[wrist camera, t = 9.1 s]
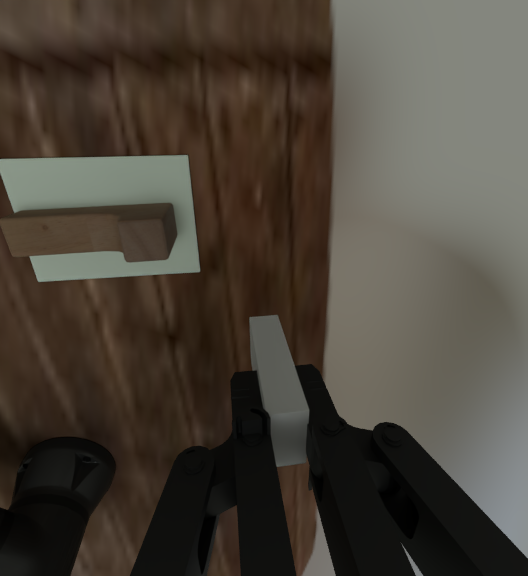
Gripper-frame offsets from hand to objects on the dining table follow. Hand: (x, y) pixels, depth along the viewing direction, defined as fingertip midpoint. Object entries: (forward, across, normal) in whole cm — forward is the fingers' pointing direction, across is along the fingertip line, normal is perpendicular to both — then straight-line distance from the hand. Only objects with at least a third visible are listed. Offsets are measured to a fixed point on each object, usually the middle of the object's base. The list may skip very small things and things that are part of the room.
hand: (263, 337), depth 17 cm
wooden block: (+23, +8, 0) cm, 24 cm away
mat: (+28, +16, 0) cm, 32 cm away
